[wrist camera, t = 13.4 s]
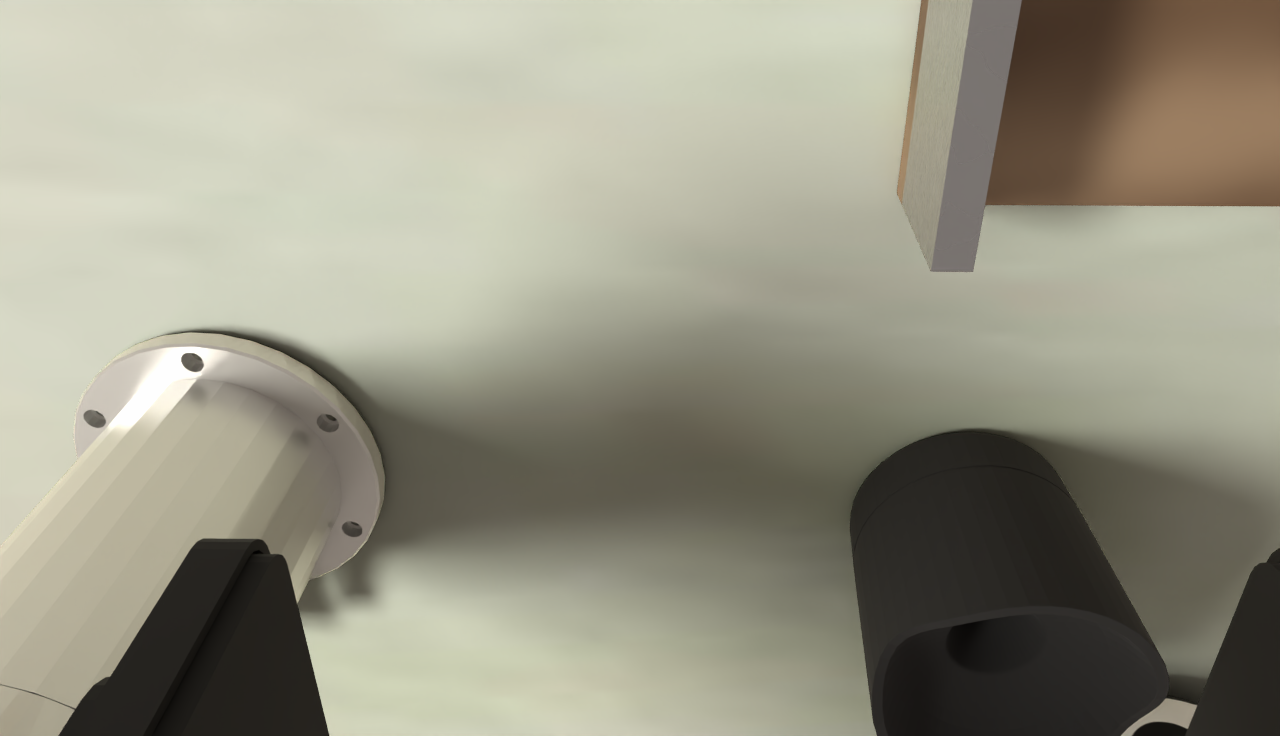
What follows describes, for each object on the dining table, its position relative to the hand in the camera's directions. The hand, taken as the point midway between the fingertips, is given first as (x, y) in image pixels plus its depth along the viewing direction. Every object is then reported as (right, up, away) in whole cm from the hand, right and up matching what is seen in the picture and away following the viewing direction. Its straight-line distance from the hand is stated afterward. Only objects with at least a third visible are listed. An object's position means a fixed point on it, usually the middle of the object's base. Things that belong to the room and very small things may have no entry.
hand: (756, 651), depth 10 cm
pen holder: (+12, -3, +31) cm, 33 cm away
